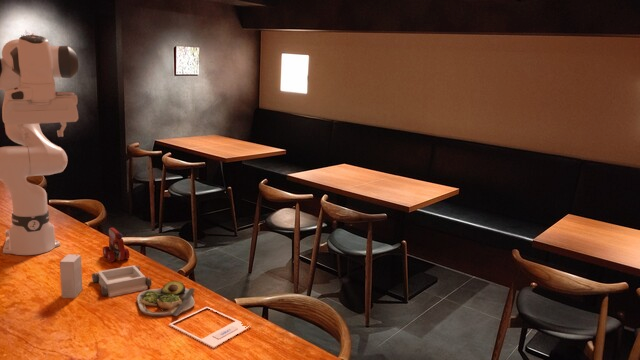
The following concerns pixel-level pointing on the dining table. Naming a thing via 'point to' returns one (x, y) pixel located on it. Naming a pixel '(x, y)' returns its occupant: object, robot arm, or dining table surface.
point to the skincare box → (71, 276)
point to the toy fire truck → (115, 247)
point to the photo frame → (219, 335)
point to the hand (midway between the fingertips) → (43, 137)
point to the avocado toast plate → (167, 299)
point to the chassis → (121, 280)
